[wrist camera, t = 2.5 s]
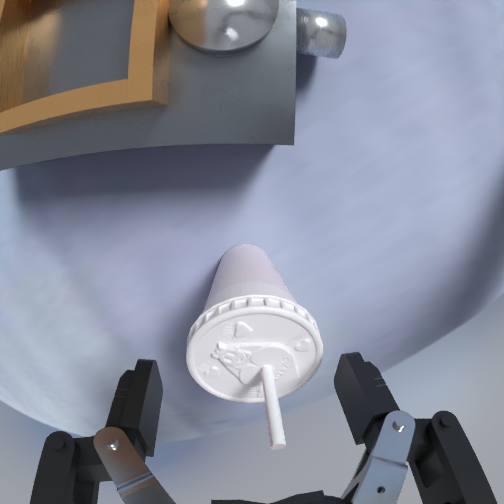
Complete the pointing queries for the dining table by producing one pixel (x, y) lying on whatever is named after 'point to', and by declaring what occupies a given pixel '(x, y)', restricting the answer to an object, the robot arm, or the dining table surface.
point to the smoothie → (253, 337)
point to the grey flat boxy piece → (151, 73)
